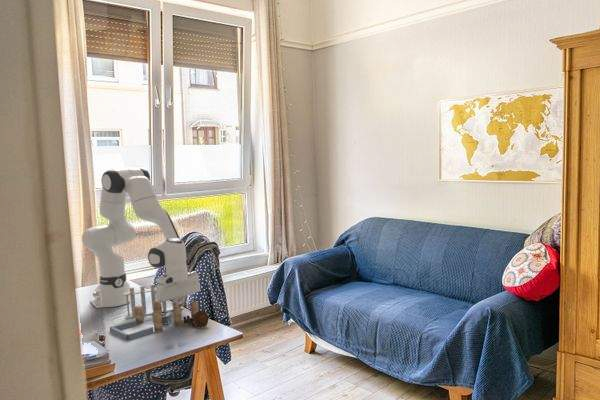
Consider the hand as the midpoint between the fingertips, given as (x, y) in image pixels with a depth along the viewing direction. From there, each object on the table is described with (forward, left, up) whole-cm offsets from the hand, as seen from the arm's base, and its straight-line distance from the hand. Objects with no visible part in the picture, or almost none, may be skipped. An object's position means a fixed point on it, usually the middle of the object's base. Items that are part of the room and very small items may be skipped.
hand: (180, 306), depth 209 cm
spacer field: (-1, -6, -5) cm, 8 cm away
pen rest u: (-1, -22, -5) cm, 22 cm away
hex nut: (-1, -8, -5) cm, 9 cm away
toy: (+13, -2, -5) cm, 14 cm away
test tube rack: (-15, -4, -5) cm, 17 cm away
